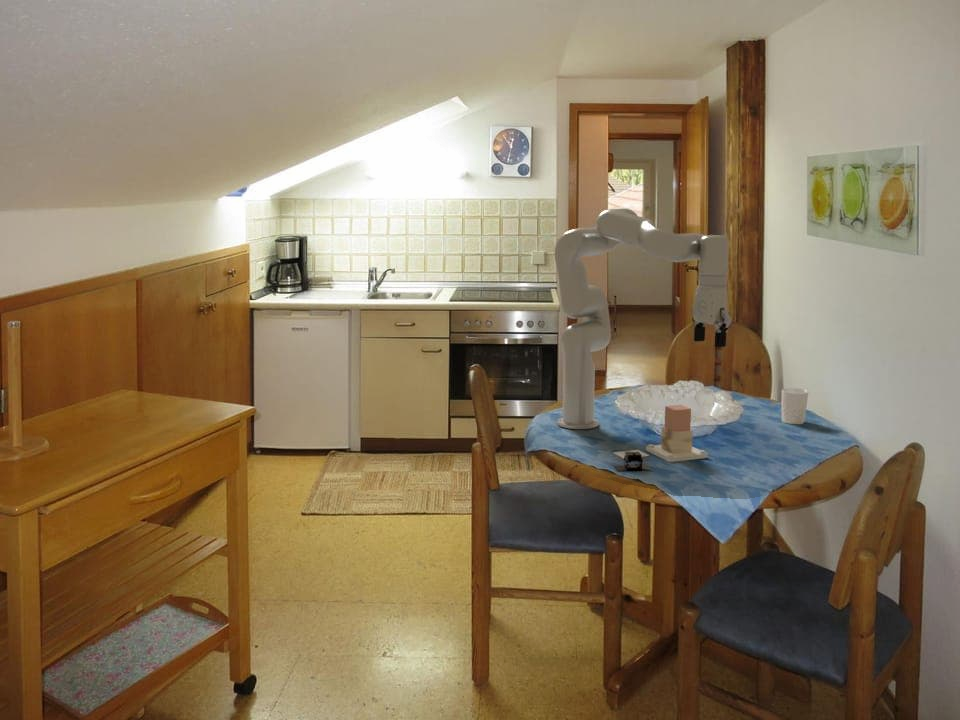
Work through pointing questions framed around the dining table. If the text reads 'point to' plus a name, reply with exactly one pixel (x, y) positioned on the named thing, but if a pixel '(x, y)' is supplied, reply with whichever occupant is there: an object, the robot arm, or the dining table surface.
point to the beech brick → (676, 441)
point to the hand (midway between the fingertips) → (709, 343)
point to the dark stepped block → (632, 467)
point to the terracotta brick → (677, 418)
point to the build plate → (676, 454)
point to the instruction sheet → (622, 454)
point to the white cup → (794, 405)
